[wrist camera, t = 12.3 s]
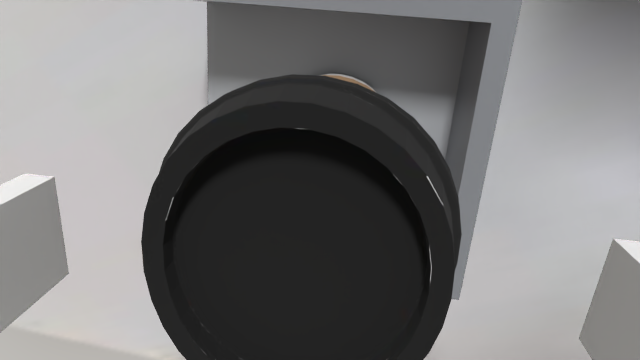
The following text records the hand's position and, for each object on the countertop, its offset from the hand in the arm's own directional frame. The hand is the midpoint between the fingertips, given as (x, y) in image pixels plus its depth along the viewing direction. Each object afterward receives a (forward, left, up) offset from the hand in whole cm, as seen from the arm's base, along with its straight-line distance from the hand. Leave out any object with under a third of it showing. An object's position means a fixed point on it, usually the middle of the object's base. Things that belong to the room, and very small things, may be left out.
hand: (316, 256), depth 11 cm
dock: (0, 0, -16) cm, 16 cm away
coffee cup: (0, 0, -14) cm, 14 cm away
